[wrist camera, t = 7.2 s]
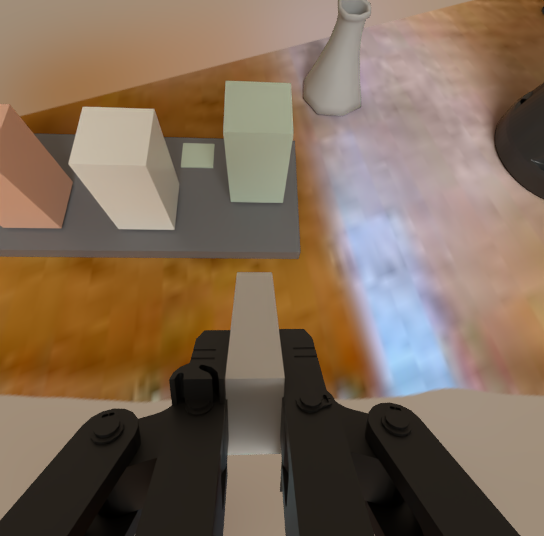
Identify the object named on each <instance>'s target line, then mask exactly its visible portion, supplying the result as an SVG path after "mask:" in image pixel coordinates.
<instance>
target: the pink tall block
mask: <svg viewBox="0 0 544 536" xmlns="http://www.w3.org/2000/svg"><path fill="white" fill-rule="evenodd" d="M72 184H73V181H72V180H71V179H70V178H69V177H68V175H67V174H66V173H65V172H64V170H63V169H62V168H61V167H60V166H59V164H58V163H57V162H56V161H55V159H54V158H53V157H52V156H51V154H50V153H49V152H48V151H47V150H46V148H45V147H44V146H43V145H42V143H41V142H40V141H39V140H38V139H37V137H36V136H35V135H34V134H33V132H32V131H31V130H30V129H29V127H28V126H27V125H26V124H25V123H24V121H23V120H22V119H21V118H20V116H19V115H18V114H17V113H16V112H15V110H14V109H13V108H12V107H11V105H10V104H0V226H2V227H3V228H62V224H63V220H64V216H65V212H66V208H67V204H68V200H69V196H70V192H71V188H72Z"/></svg>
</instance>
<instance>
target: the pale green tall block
mask: <svg viewBox="0 0 544 536" xmlns="http://www.w3.org/2000/svg"><path fill="white" fill-rule="evenodd" d="M223 135H224V144H225V154H226V163H227V172H228V181H229V191H230V200H231V202H258V203H283V199H284V192H285V186H286V179H287V173H288V166H289V160H290V153H291V147H292V140H293V114H292V94H291V83H273V82H246V81H226V85H225V105H224V125H223Z"/></svg>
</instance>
